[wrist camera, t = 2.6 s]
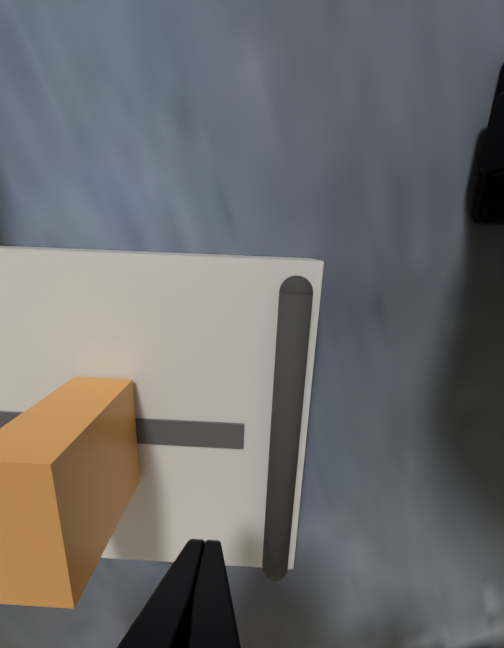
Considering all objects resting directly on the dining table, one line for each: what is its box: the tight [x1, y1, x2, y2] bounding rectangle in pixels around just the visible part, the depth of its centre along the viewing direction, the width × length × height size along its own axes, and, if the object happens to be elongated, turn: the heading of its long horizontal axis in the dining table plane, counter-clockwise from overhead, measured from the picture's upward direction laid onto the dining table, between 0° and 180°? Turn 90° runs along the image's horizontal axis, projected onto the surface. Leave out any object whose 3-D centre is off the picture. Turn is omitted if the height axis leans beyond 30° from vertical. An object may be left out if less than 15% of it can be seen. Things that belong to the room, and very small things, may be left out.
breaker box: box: [0, 246, 324, 569], centre depth 14 cm, size 17×15×3 cm
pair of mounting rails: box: [262, 275, 313, 581], centre depth 12 cm, size 16×14×1 cm
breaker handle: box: [0, 377, 140, 608], centre depth 10 cm, size 2×5×5 cm, turn 178°
